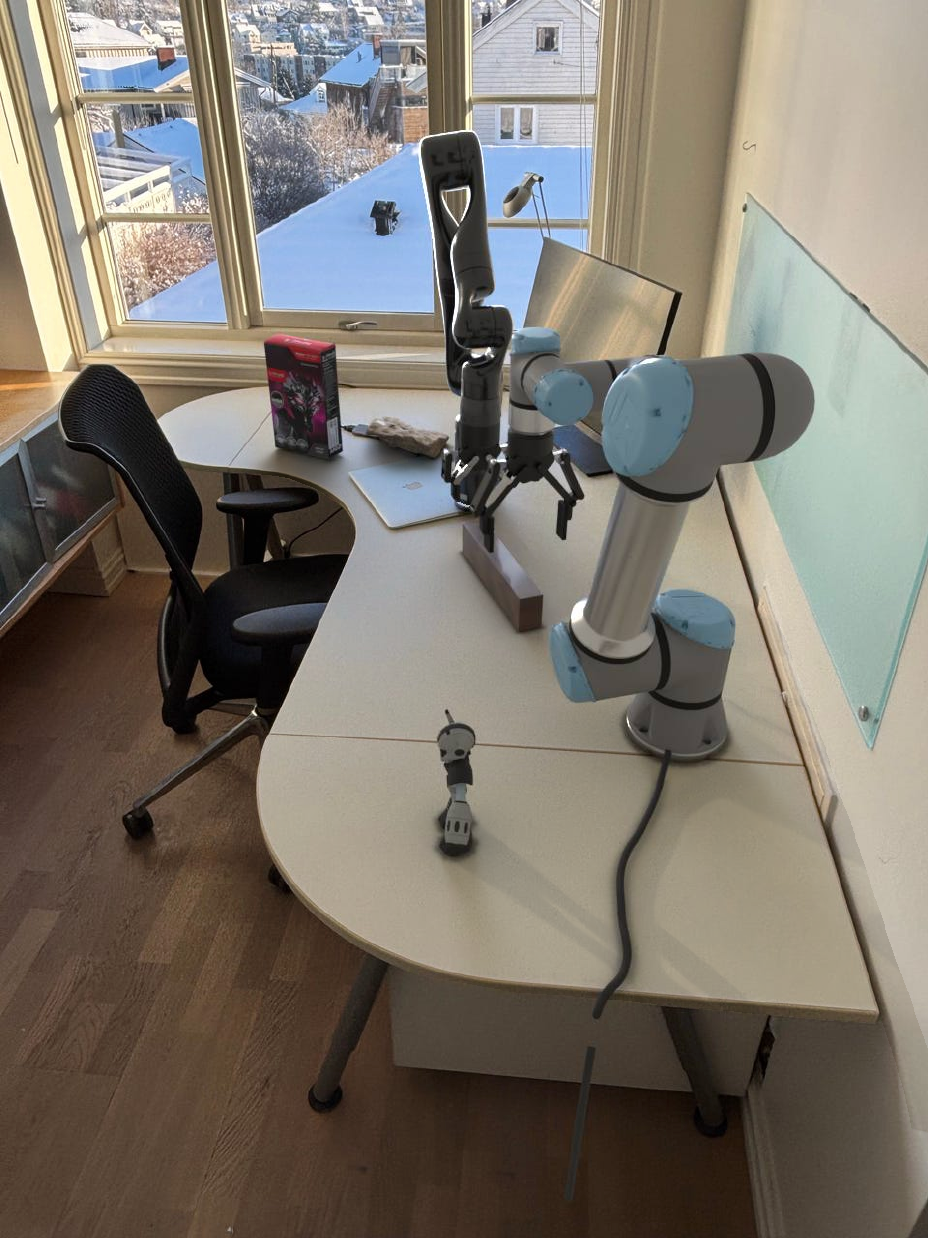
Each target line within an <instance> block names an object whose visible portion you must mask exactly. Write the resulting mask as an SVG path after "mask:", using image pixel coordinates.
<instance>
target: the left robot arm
mask: <svg viewBox="0 0 928 1238" xmlns="http://www.w3.org/2000/svg"><path fill="white" fill-rule="evenodd" d="M482 150H483V149H482V146H481V142H480V139H479V136H478V134H477V133H476V132H475V131H473V130H459V131H452V132H446V133H439V134H434V135H433V134H432V135H429V136H424V137H423V138H421V140H420V142H419V147H418V157H419V165H420V173H421V178H422V184H423V189H424V194H425V199H426V205H427V210H428V215H429V221H430V227H431V232H432V239H433V240H432V241H433V242H432V243H433V251H434V261H435V270H436V271H435V272H436V278H437V287H438V294H439V300H440V305H441V313H442V321H443V322H442V324H443V330H444V348H445V349H444V353H445V375H446V382H447V386H448V388H449V390H450V392H451V393H452V394H453V395H455V396H457V397H460V400H459V401H460V403H459V414H457V416H456V417H455V420H454V449H452V450H451V449H450V450H449V449H448V448H443V449H442V451H441V465H440V466H441V467H440V477H441V479H442V480H443V482H444V483H446V484H450V497H451V498H452V499H453V500H454V504H455V506H456V507H458V508H460V509H462V510H465V511H470V510H469V507H465V506H462V505H460V504H458V503H457V502H461V503H463V504H466V505H470V504H471V502H472V500H473V498H474V496H475V494H476V492H477V490H478V488H479V486H480V484H481V481H482V479H483V477H484V475H485V473H486V471H487V467H488V460H489V459H490V458H491V457H494V458H495V459H496V460H498V457H500V455H501V453H502V454H503V455H504V459H505V458H506V456H507V441H505V443H504V444H500V441H501V439H500V438H501V418H502V410H503V408H502V407H503V396H504V395H503V394H504V387H505V386H504V385H505V375H504V368H503V367H504V363H505V359H506V356H507V352H508V349H509V347H510V345H511V342H512V336H513V334H514V319H513V315H512V313H511V311H510V310H509V308H507V307H506V306H505V305H501V304H494V305H493V304H491V305H483V304H484V302H485V299H486V298H489V297H490V296H491V295H493V293H494V292H495V290H496V277H495V271H494V267H493V259H492V255H491V249H490V241H489V229H488V228H489V226H488V223H489V222H488V203H487V202H488V201H487V191H486V188H487V187H486V176H485V164H484V155H483V151H482ZM463 189H464V190H465V189H466V190H467V189H468V200H467V204H466V207H465V210H464V213H463V216H462V218H461V221H459V224H458V222H457V221H456V219H455V218H454V216H453V215H452V213H451V211H450V210H449V208H448V206H447V204H446V201H445V199H444V196H443V193H446V192H453V191H460V190H463ZM475 349H486V350H485V352H484V353H483V354H482V355H480V354H477V353H475V352H474V350H475ZM453 463H454V470H453V471H452V469H453V468H452V466H453ZM507 470H508V469H507V468H506V467H505V468H504V469H503V470H502V473H501V474H500V473H499V477H498V480H497V482H496V484H495V486H494V488H493V490H494V489H495V488H496V486H497V485H498V484H499V483H500V481H501V480H502V477H503V475H504V474H505V472H506V471H507ZM493 490H492V491H493ZM491 493H492V492H491Z"/></svg>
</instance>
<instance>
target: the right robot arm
mask: <svg viewBox="0 0 928 1238" xmlns="http://www.w3.org/2000/svg"><path fill="white" fill-rule="evenodd" d="M561 351H562V347H561V337H560V333H558V332H557V330H554V329H552V328H548V327H543V326H528V327H523V328H519V329H518V330H516V331H514V332H513V334H512V338H511V341H510V352H509V392H508V396H509V397H508V415H507V416H508V419H507V424H508V426H509V427H508V428H507V439H506V440H507V441H506V442H507V456H506V458H505V457H504V459H497V460H496V459H495V458H494V457H491V458H490V459H489V460H488V467H487V471H486V473H485V475H484V477H483V479H482V481H481V484H480V486H479V488H478V490H477V492H476V494H475V496H474V498H473V500H472V502H471V504H470V506H469V510H468V511H470V513H471V514H472V515H473V517H474V518H478V517H479V520H480V526H479V529H480V531H481V532H482V534H483V535H484V546H485V548H486V549H487V550H488V552H489V553H493V552H494V533H495V520H496V518H495V517H494V516H493V514H494V513H495V511H496V510H497V509H498V508H499V507H500V505H501V504H502V502H503V501H504V500H505V499H506V498H507V496H508V495H509V494H510V493H511V492H512V491H513V489H516V488H517V486H519V484H520V483H521V484H524V485H525V484H528V483H530V482H533V483H534V482H540V480H542V479H545V481H547V483H548V484H550V486H551V488H553V489H554V490H555V491H556V493H557V494H558V495H559V496H560V497H561V498H562V499H559V500H557V509H556V510H557V511H556V526H555V534H556V536H557V537H559V539H560V540H561V541H567V536H568V535H567V533H568V523H569V521H572V519H573V512H574V508H575V507H577V503H578V502H577V501H583V500H584V499H585V493H584V491H583V489H582V487H581V485H580V482H579V480H578V478H577V475H576V473H575V471H574V469H573V466H572V465H571V464H572V463H571V462H572V461H571V454H570V452H569V451H568V450H567V449H565V448H564V447H561V446H560V447H559V448H558V449H557V451H554V452H553V450H554V443H555V429H554V428H555V427H556V425H558V426H564V427H567V426H568V427H569V426H573V425H575V424H578V423H579V422H581V421H582V420H584V419H585V418H586V417H587V416H588V414H595V413H596V414H597V413H602V414H601V420H600V422H601V424H602V426H603V427H602V430H601V432H600V436H601V437H600V438H601V445H602V450H603V453H604V456H605V459H606V461H607V463H608V465H609V466H610V468H611V469H612V472H613V474H614V476H615V478H616V479H617V481H618V482H619V483H618V486H617V490H616V494H615V497H614V501H613V503H612V508H611V511H610V515H609V519H608V522H607V526H606V530H605V533H604V537H603V540H602V545H601V548H600V552H599V555H598V558H597V562H596V564H595V565H596V566H595V569H594V573H593V577H592V580H591V584H590V587H589V590H588V594H587V595H585V596H584V597H582V598H581V599H580V600H579V601H578V602H576V604H575V605H574V607H573V609H572V611H571V615H570V618H569V621H565V622H564V621H559V622H557V623H555V624H553V625H552V626H550V629H549V634H548V645H549V652H550V658H551V659H550V660H551V664H552V668H553V671H554V674H555V677H556V680H557V683H558V685H559V688H560V690H561V692H562V693H563V695H564V696H565V698H566V699H568V700H569V701H570V702H572V703H575V704H582V703H588V702H591V703H597V702H600V701H605V700H610V699H611V700H612V699H615V698H621V697H622V698H623V697H627V696H631V695H634V697H633V699H632V701H631V702H630V704H629V706H628V708H627V711H626V719H625V728H626V732H627V734H628V736H629V738H630V739H631V741H632V742H634V744H636V745H637V746H638V747H639V748H640V749H641V750H643V751H645V752H646V753H648V754H650V755H651V756H654V757H656V758H659V759H662V761H661V765H660V768H659V772H658V777H657V780H656V785H655V789H654V791H653V793H652V797H651V799H650V802H649V804H648V806H647V808H646V810H645V812H644V815H643V816H642V818H641V821H640V822H639V824H638V827H637V828H636V830H635V832H634V833H633V835H632V836H631V838H630V840H629V841H628V842H627V844H626V846H625V847H624V849H623V851H622V853H621V856H620V858H619V861H618V864H617V868H616V869H617V870H616V875H615V876H616V878H615V892H616V907H617V908H616V909H617V922H618V929H619V933H620V938H621V943H622V962H621V966H620V968H619V971H618V972H617V974H616V975H615V976H614V977H613V978H612V979H611V981H610V982H608V984H607V985H605V987H604V988H603V989H602V991H601V992H600V994H599V995H598V997H597V999H596V1002H595V1003H594V1004H595V1005H594V1007H593V1010H592V1013H591V1016H592V1018H593V1019H594V1020H599V1019H600V1018H601V1016H602V1014H603V1011H604V1009H605V1006H606V1004H607V1002H608V1000H609V999H610V997H611V996H612V995H613V994H614V992H615V991H616V990H617V989H618V988H620V986H621V985H622V983H623V982H624V981H625V980H626V979H627V976H628V975H629V974H628V973H629V971H630V969H631V963H632V956H633V955H632V951H633V949H632V943H631V942H632V941H631V937H630V931H629V927H628V921H627V911H626V909H627V908H626V898H625V897H626V896H625V894H626V893H625V872H626V867H627V864H628V860H629V859H630V855H631V854H632V852H633V851H634V849H635V847H636V845H637V844H638V843H639V841H640V840H641V838H642V836H643V834H644V833H645V830H646V829H647V826H648V825H649V824H650V823H649V822H650V821H651V818H652V817H653V815H654V812H655V810H656V808H657V806H658V803H659V800H660V798H661V795H662V792H663V788H664V785H665V781H666V778H667V777H666V776H667V773H668V768H669V764H670V762H675V763H694V762H700V761H703V760H706V759H709V758H711V757H714V755H716V754H718V752H720V751H721V750H722V748H723V747H724V744H725V743H726V740H727V739H726V738H727V734H728V721H727V716H726V712H725V708H724V707H725V706H724V701H723V692H724V686H725V682H726V678H727V672H728V668H729V664H730V659H731V654H732V651H733V650H732V649H733V647H734V645H735V642H736V641H735V637H736V636H735V635H736V618H735V616H734V614H733V612H732V611H731V609H730V608H729V607H728V606H727V605H726V604H725V603H723V602H722V601H720V600H719V599H717V598H715V596H714V597H713V596H711V595H709V594H707V593H704V592H701V591H699V590H698V591H697V590H694V589H693V590H692V589H687V588H673V589H667V590H664V591H663V592H661V593H660V589H661V587H662V585H663V582H664V579H665V576H666V574H667V569H668V567H669V565H670V562H671V559H672V557H673V554H674V551H675V550H676V549H675V548H676V545H677V543H678V540H679V538H680V536H681V535H680V534H681V532H682V529H683V526H684V523H685V521H686V518H687V515H688V513H689V510H690V507H691V504H692V503H694V502H697V501H699V500H700V499H703V498H704V497H705V496H706V495H707V494H708V493H709V492H710V490H711V489H712V486H713V485H714V481H715V479H716V476H717V473H718V471H719V469H720V468H721V467H722V466H728V465H736V464H742V463H745V464H746V463H751V462H752V463H753V462H759V461H763V460H766V459H770V458H773V457H775V456H777V455H780V454H781V453H783V452H785V451H786V450H788V449H790V448H791V447H792V446H793V445H794V444H795V443H797V442H798V441H799V440H800V438H801V437H802V436H803V435H804V433H805V432H806V431H807V429H808V427H809V425H810V423H811V421H812V418H813V415H814V410H815V404H816V403H815V402H816V400H815V390H814V387H813V385H812V381H811V379H810V377H809V376H808V374H807V373H806V371H805V370H804V369H803V368H802V366H800V365H799V364H798V363H796V362H795V361H794V360H792V359H790V358H788V357H786V356H783V355H781V354H777V353H771V352H745V353H739V354H727V355H717V356H706V357H696V358H695V357H694V358H686V359H684V358H683V359H675V358H673V357H672V356H669V355H667V354H660V355H658V354H646V355H642V356H630V357H621V358H612V359H597V360H583V361H573V362H571V361H570V362H566V361H565V360H564V359H563V358H561V356H560V353H561ZM554 462H556V463H557V464H558V465H559V467H560V469H561V471H562V473H563V476H564V478H565V481H566V482H567V485H568V487H569V489H570V492H568V491H567V490H566V488H564V486H563V485H562V484H561V483H560V482H559V481H558V479H557V478H555V477H556V476H554V475H553V473H551V472H550V468H551V467H552V466H553V464H554ZM505 467H506V468H507V469H508V470H507V471H506V472H505V474H504V475H503V477H502V480H501V481H500V483H499V484H498V485H497V486H496V488H495V489H494V490H493V488H494V486H495V484H496V482H497V480H498V477H499V473H500V474H501V473H502V470H503V469H504V468H505ZM492 490H493V491H492ZM491 492H492V493H491ZM659 593H660V594H659ZM596 1052H597V1047H595V1046H590V1045H587V1047H586V1053H585V1059H584V1063H583V1064H584V1065H583V1069H582V1077H581V1082H580V1090H579V1096H578V1102H577V1107H576V1109H577V1110H576V1116H575V1122H574V1129H573V1136H572V1143H571V1150H570V1151H571V1152H570V1158H569V1166H568V1172H567V1178H566V1179H567V1180H566V1186H565V1193H564V1202H565V1203H566V1204H568V1205H569V1204H572V1202H573V1198H574V1197H573V1196H574V1191H575V1184H576V1179H577V1178H576V1177H577V1170H578V1164H579V1157H580V1150H581V1145H582V1138H583V1132H584V1124H585V1118H586V1110H587V1107H588V1106H587V1105H588V1099H589V1093H590V1087H591V1080H592V1075H593V1069H594V1063H595V1056H596Z"/></svg>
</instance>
